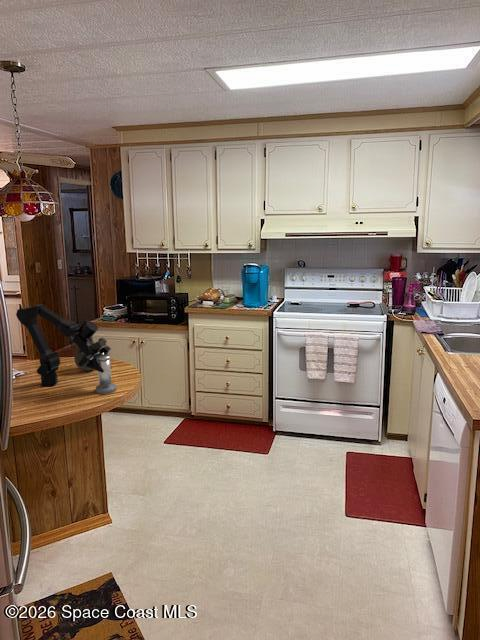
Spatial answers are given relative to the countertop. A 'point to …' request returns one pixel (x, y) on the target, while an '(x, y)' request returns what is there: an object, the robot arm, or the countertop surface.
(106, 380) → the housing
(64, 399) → the countertop surface
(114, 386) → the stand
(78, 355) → the grey round ball
